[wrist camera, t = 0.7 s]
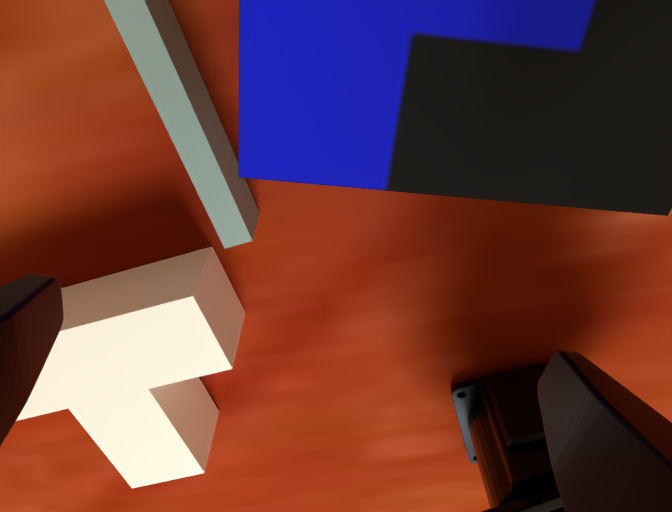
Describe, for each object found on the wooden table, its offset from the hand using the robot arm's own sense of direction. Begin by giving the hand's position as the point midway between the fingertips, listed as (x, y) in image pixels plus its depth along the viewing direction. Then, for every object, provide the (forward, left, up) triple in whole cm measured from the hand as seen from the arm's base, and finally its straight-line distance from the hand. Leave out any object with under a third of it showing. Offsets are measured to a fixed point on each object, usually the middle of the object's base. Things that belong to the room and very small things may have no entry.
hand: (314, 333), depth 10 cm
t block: (-8, +13, -13) cm, 20 cm away
